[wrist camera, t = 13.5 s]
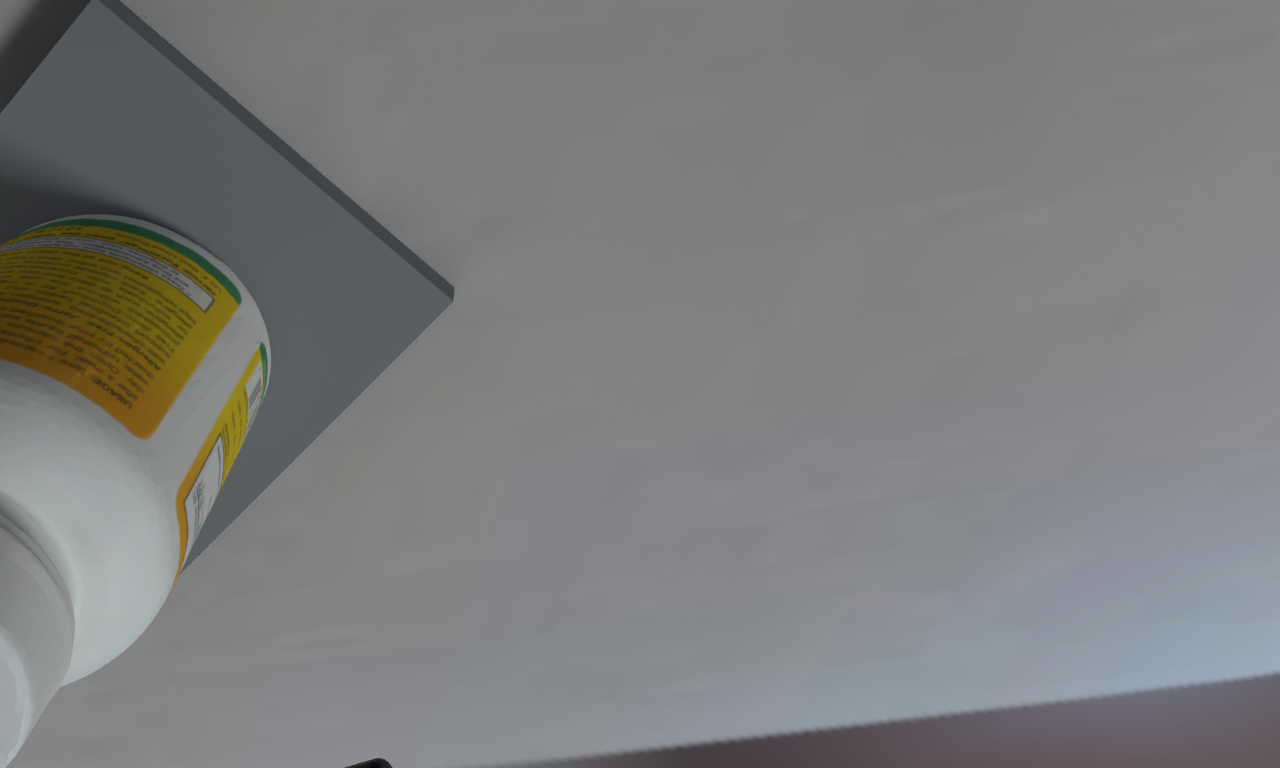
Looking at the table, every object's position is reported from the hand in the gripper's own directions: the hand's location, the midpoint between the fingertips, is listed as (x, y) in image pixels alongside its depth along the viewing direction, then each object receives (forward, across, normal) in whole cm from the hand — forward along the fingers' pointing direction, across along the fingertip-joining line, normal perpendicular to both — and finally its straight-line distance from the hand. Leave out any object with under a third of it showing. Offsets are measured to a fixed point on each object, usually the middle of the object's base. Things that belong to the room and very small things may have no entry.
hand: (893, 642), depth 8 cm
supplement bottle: (+12, +11, -1) cm, 16 cm away
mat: (+13, +11, -1) cm, 17 cm away
